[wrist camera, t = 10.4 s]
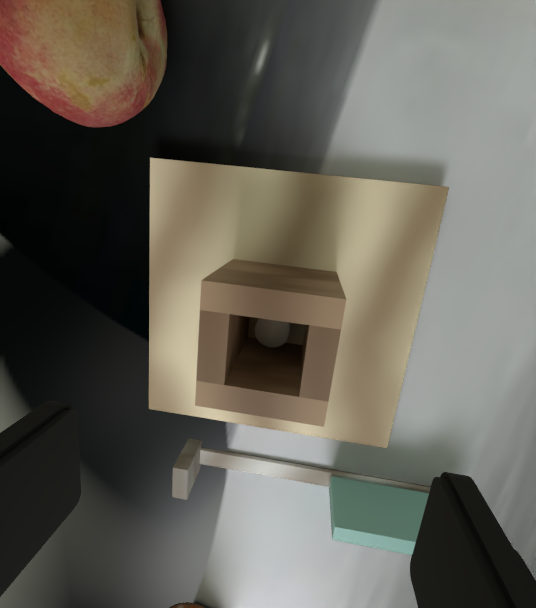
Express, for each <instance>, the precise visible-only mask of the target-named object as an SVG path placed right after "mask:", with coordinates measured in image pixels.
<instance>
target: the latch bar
mask: <svg viewBox="0 0 536 608" xmlns="http://www.w3.org/2000/svg"><path fill="white" fill-rule="evenodd" d="M329 493H330V510H331V527H332V540H336V541H341V542H346V543H352V544H357V545H362V546H367V547H373V548H378V549H383V550H388V551H393V552H399V553H404V554H409V555H412V554H413V551H414V547H415V543H416V540H417V536H418V532H419V529H420V525H421V521H422V518H423V514H424V510H425V507H426V503H427V499H428V496H429V493H424V492H418V491H413V490H407V489H401V488H396V487H390V486H384V485H378V484H373V483H367V482H361V481H356V480H350V479H344V478H339V477H333V476H331V481H330V486H329Z"/></svg>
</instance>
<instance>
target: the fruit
mask: <svg viewBox="0 0 536 608" xmlns="http://www.w3.org/2000/svg"><path fill="white" fill-rule="evenodd" d="M166 61H167V29H166V20H165V17H164V13H163V9H162V5H161V1H160V0H0V64H1V66H2V67H3V68H4V69H5V71H6V72H7V73H8V74H9V75H10V76H11V77H12V78H13V79H14V80H15V81H16V82H17V83H18V84H19V85H20V86H21V87H22V88H23V89H25V90H26V91H27V92H28V93H29V94H30V95H31V96H33V97H34V98H35V99H36V100H37V101H39V102H41V103H42V104H44V105H45V106H47V107H48V108H49V109H51V110H52V111H53V112H55V113H57V114H59V115H61V116H63V117H64V118H66V119H68V120H71V121H73V122H75V123H77V124H81V125H84V126H88V127H106V126H109V127H111V126H113V125H117V124H120V123H123V122H125V121H127V120H129V119H130V118H132V117H134V116H135V115H136V114H138V113H139V112H140V111H142V110H143V109H144V108H145V107H146V106H147V105H148V104H149V103H150V101H151V100H152V99H153V97H154V95H155V93H156V92H157V90H158V88H159V85H160V83H161V81H162V79H163V76H164V73H165V70H166Z"/></svg>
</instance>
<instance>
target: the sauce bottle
mask: <svg viewBox="0 0 536 608" xmlns="http://www.w3.org/2000/svg"><path fill="white" fill-rule="evenodd" d="M170 608H205V607H203V606H202V605H199V604H196V603H188V602H187V603H178V604H175V605H174V606H171V607H170Z"/></svg>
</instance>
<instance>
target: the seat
mask: <svg viewBox="0 0 536 608" xmlns="http://www.w3.org/2000/svg"><path fill="white" fill-rule="evenodd" d="M448 190H449V187H443V186H433V185H423V184H413V183H402V182H392V181H382V180H372V179H362V178H352V177H341V176H331V175H321V174H311V173H301V172H291V171H280V170H270V169H260V168H250V167H240V166H229V165H219V164H209V163H199V162H189V161H179V160H168V159H158V158H150V289H149V409H154V410H159V411H165V412H171V413H178V414H184V415H190V416H196V417H202V418H208V419H214V420H220V421H226V422H232V423H238V424H244V425H250V426H256V427H262V428H268V429H274V430H280V431H286V432H292V433H298V434H304V435H310V436H316V437H322V438H328V439H334V440H340V441H346V442H352V443H358V444H364V445H370V446H376V447H382V448H387V447H388V443H389V438H390V434H391V430H392V426H393V422H394V417H395V413H396V409H397V405H398V401H399V396H400V392H401V388H402V384H403V379H404V375H405V371H406V367H407V363H408V358H409V354H410V350H411V346H412V342H413V337H414V333H415V329H416V325H417V321H418V316H419V312H420V308H421V304H422V300H423V295H424V291H425V287H426V283H427V279H428V274H429V270H430V266H431V262H432V258H433V253H434V249H435V245H436V241H437V237H438V232H439V228H440V224H441V220H442V216H443V211H444V207H445V203H446V199H447V195H448ZM232 259H237V260H245V261H253V262H261V263H269V264H277V265H285V266H293V267H301V268H309V269H317V270H325V271H333V272H337V274H338V277H339V280H340V283H341V286H342V288H343V291H344V294H345V297H346V305H345V310H344V316H343V322H342V327H341V333H340V339H339V345H338V350H337V356H336V362H335V367H334V373H333V379H332V385H331V390H330V396H329V402H328V407H327V413H326V419H325V424H324V427H322V426H316V425H309V424H303V423H297V422H291V421H285V420H279V419H273V418H267V417H261V416H255V415H249V414H243V413H237V412H231V411H225V410H219V409H212V408H206V407H200V406H195V396H196V376H197V356H198V337H199V317H200V297H201V280H203V279H204V278H205V277H207V276H208V275H210V274H211V273H213V272H214V271H216V270H217V269H219V268H220V267H222V266H223V265H225V264H226V263H228V262H229V261H231V260H232ZM305 326H306V325H305V324H297V323H290V322H283V321H276V320H269V319H262V318H254V317H250V319H249V330H248V337H251V338H257V339H258V341H259V342H260V343H261V344H263V345H264V346H267V347H279V346H281V345H283V344H284V343H292V344H299V345H303V340H304V333H305ZM201 464H204V465H210V466H216V467H221V468H227V469H232V470H238V471H244V472H249V473H255V474H260V475H266V476H272V477H277V478H283V479H289V480H294V481H300V482H305V483H311V484H317V485H322V486H328V487H329V486H330V481H331V476H333V477H339V478H344V479H350V480H356V481H361V482H367V483H373V484H378V485H384V486H390V487H396V488H401V489H407V490H413V491H418V492H424V493H429V492H430V488H431V487H427V486H421V485H415V484H410V483H404V482H398V481H392V480H387V479H381V478H375V477H369V476H364V475H358V474H352V473H346V472H341V471H335V470H329V469H323V468H318V467H312V466H306V465H300V464H295V463H289V462H283V461H277V460H272V459H266V458H260V457H254V456H249V455H243V454H237V453H231V452H226V451H219V450H214V449H208V448H203V447H202V441H201V440H196V439H190V438H189V439H188V441H187V443H186V444H185V446H184V448H183V450H182V452H181V454H180V456H179V457H178V459H177V461H176V463H175V465H174V467H173V488H172V497H175V498H181V499H185V500H187V498H188V495H189V493H190V491H191V488H192V486H193V484H194V481H195V479H196V476H197V474H198V472H199V470H200V466H201Z"/></svg>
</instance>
